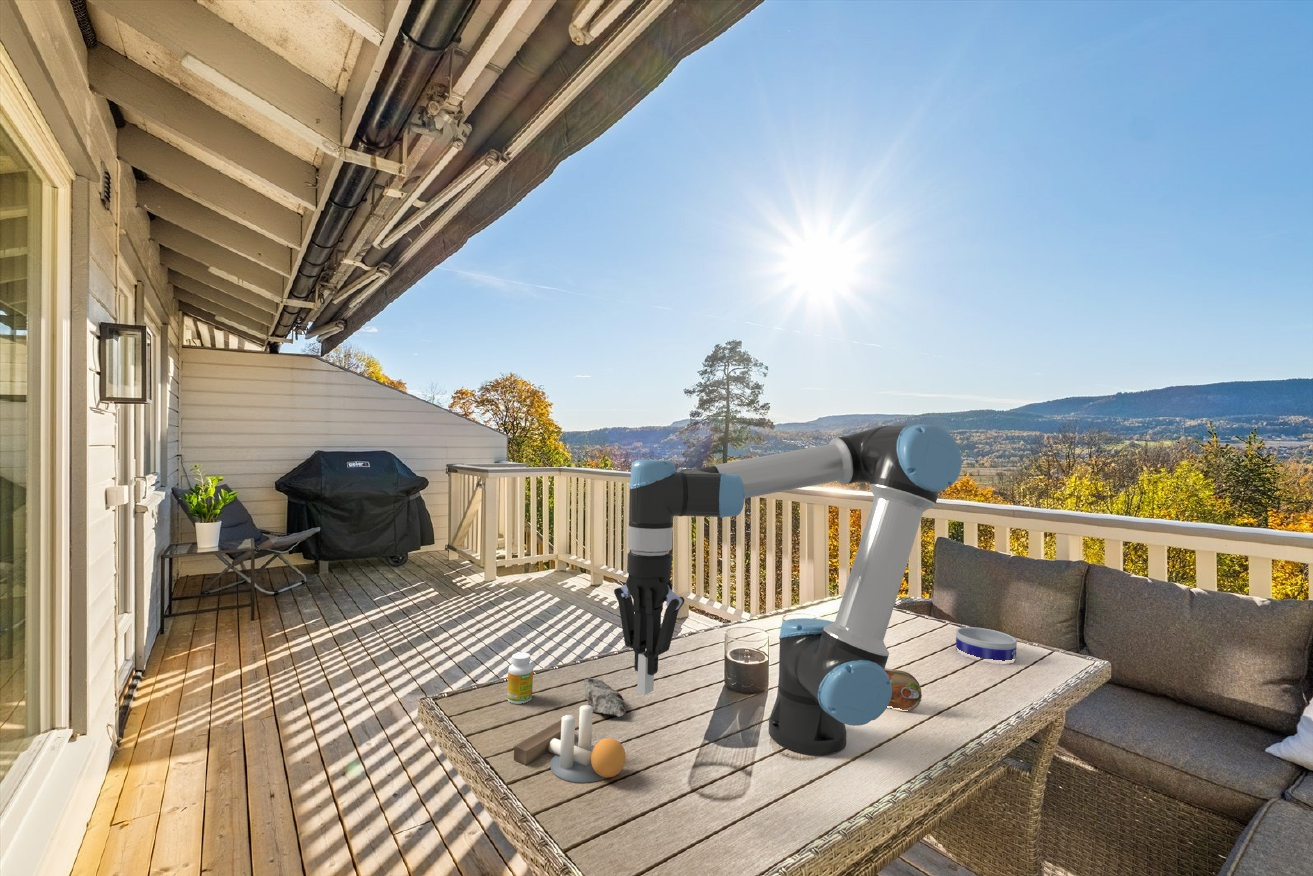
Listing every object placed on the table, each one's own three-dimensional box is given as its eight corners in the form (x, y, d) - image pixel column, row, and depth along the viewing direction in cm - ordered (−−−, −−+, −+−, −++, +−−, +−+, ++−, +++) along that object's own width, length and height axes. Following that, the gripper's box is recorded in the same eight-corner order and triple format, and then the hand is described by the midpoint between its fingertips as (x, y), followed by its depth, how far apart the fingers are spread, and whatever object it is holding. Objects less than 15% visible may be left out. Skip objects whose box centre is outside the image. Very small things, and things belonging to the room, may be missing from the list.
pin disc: (630, 759, 106) (631, 758, 106) (589, 791, 96) (589, 790, 96) (580, 740, 113) (580, 739, 113) (535, 767, 103) (536, 766, 103)
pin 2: (593, 753, 108) (595, 707, 108) (585, 759, 106) (587, 712, 106) (583, 749, 109) (585, 703, 109) (575, 755, 107) (576, 708, 107)
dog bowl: (967, 643, 180) (967, 623, 180) (1023, 657, 169) (1023, 636, 169) (947, 654, 170) (947, 633, 170) (1006, 669, 158) (1006, 647, 158)
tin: (849, 701, 135) (850, 664, 135) (851, 696, 137) (852, 660, 138) (921, 716, 128) (922, 677, 128) (921, 710, 131) (922, 672, 131)
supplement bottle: (520, 706, 126) (522, 661, 126) (501, 700, 129) (503, 656, 129) (537, 697, 131) (538, 654, 131) (518, 692, 133) (520, 649, 134)
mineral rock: (630, 720, 122) (631, 699, 122) (592, 724, 120) (593, 703, 120) (614, 692, 136) (615, 673, 136) (580, 695, 134) (581, 675, 134)
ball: (607, 726, 105) (601, 757, 105) (587, 741, 100) (581, 773, 100) (635, 742, 102) (628, 773, 102) (616, 757, 97) (609, 791, 97)
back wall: (573, 736, 114) (574, 723, 114) (525, 765, 103) (526, 751, 103) (562, 731, 116) (562, 719, 116) (513, 760, 105) (514, 746, 105)
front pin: (593, 749, 105) (557, 736, 109) (585, 754, 103) (549, 741, 107) (592, 763, 105) (556, 749, 109) (584, 768, 103) (548, 754, 107)
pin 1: (576, 765, 104) (578, 717, 104) (567, 771, 102) (569, 722, 102) (565, 761, 105) (567, 713, 105) (556, 767, 103) (558, 718, 103)
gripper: (694, 553, 98) (690, 694, 98) (631, 544, 105) (626, 675, 105) (671, 559, 92) (666, 710, 91) (605, 549, 99) (600, 689, 98)
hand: (645, 692), depth 98 cm, fingers closed
